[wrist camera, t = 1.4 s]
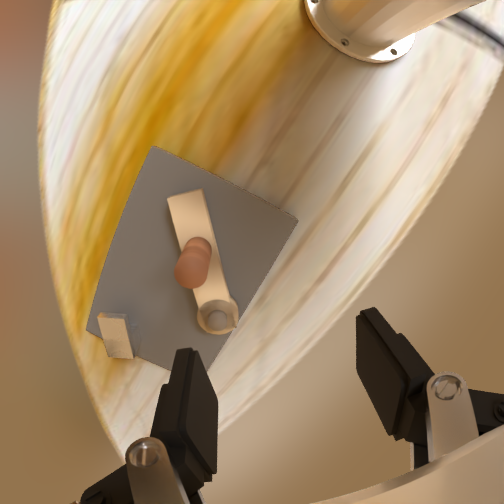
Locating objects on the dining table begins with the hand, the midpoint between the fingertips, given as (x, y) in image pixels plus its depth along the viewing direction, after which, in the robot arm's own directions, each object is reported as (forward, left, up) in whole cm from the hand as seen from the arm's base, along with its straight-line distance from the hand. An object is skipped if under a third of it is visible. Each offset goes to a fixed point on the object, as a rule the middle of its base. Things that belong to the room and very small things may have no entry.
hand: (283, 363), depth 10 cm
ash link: (+5, -3, -18) cm, 19 cm away
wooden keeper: (+15, -8, -18) cm, 25 cm away
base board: (+8, -4, -20) cm, 22 cm away
